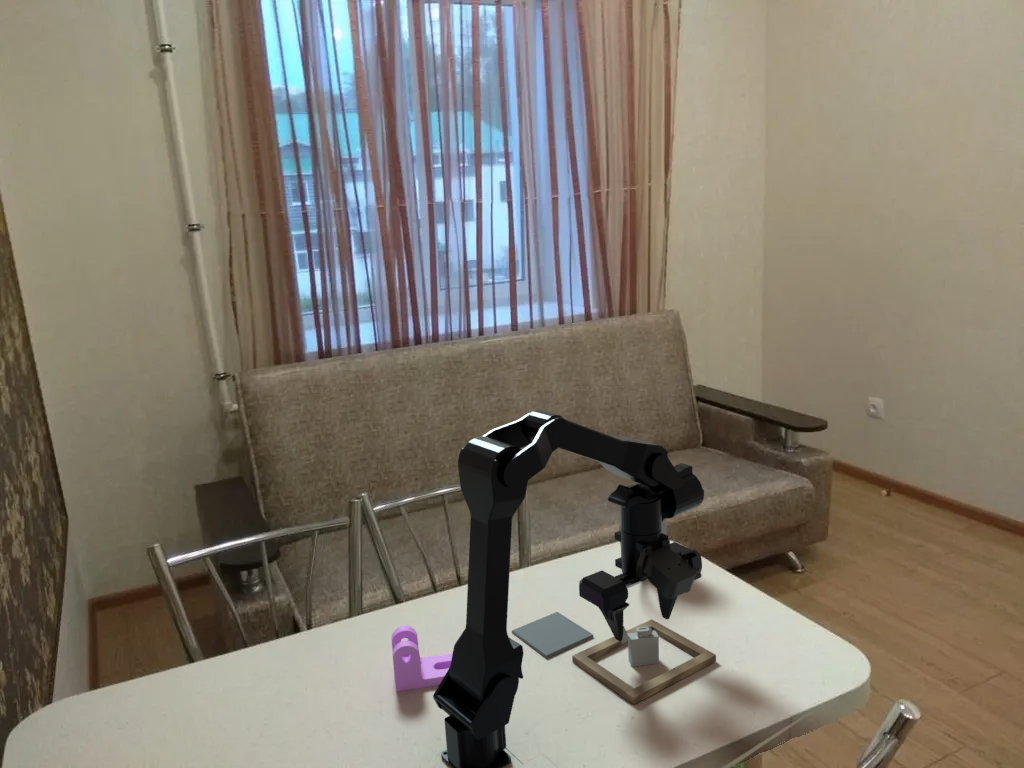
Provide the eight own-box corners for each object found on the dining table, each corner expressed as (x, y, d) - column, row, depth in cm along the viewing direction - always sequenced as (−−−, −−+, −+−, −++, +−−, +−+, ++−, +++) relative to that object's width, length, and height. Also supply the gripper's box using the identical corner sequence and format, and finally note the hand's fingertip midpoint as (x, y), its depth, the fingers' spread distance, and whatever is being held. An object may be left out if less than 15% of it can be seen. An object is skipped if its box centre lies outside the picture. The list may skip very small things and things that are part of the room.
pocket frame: (633, 704, 106) (633, 697, 106) (572, 661, 117) (572, 655, 117) (716, 661, 115) (716, 654, 115) (652, 625, 125) (651, 619, 125)
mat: (546, 658, 118) (546, 655, 118) (511, 633, 125) (511, 630, 125) (593, 637, 123) (593, 634, 123) (557, 615, 130) (557, 611, 130)
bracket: (396, 692, 112) (391, 648, 111) (394, 670, 117) (390, 627, 116) (487, 678, 114) (484, 634, 113) (482, 657, 120) (479, 615, 118)
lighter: (655, 656, 117) (655, 607, 115) (659, 663, 115) (658, 613, 113) (608, 662, 116) (606, 612, 114) (611, 668, 115) (609, 618, 113)
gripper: (631, 567, 100) (633, 678, 103) (731, 526, 110) (730, 629, 113) (574, 539, 109) (578, 642, 112) (672, 504, 119) (673, 600, 122)
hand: (642, 628), depth 115 cm, fingers open, 9 cm apart
